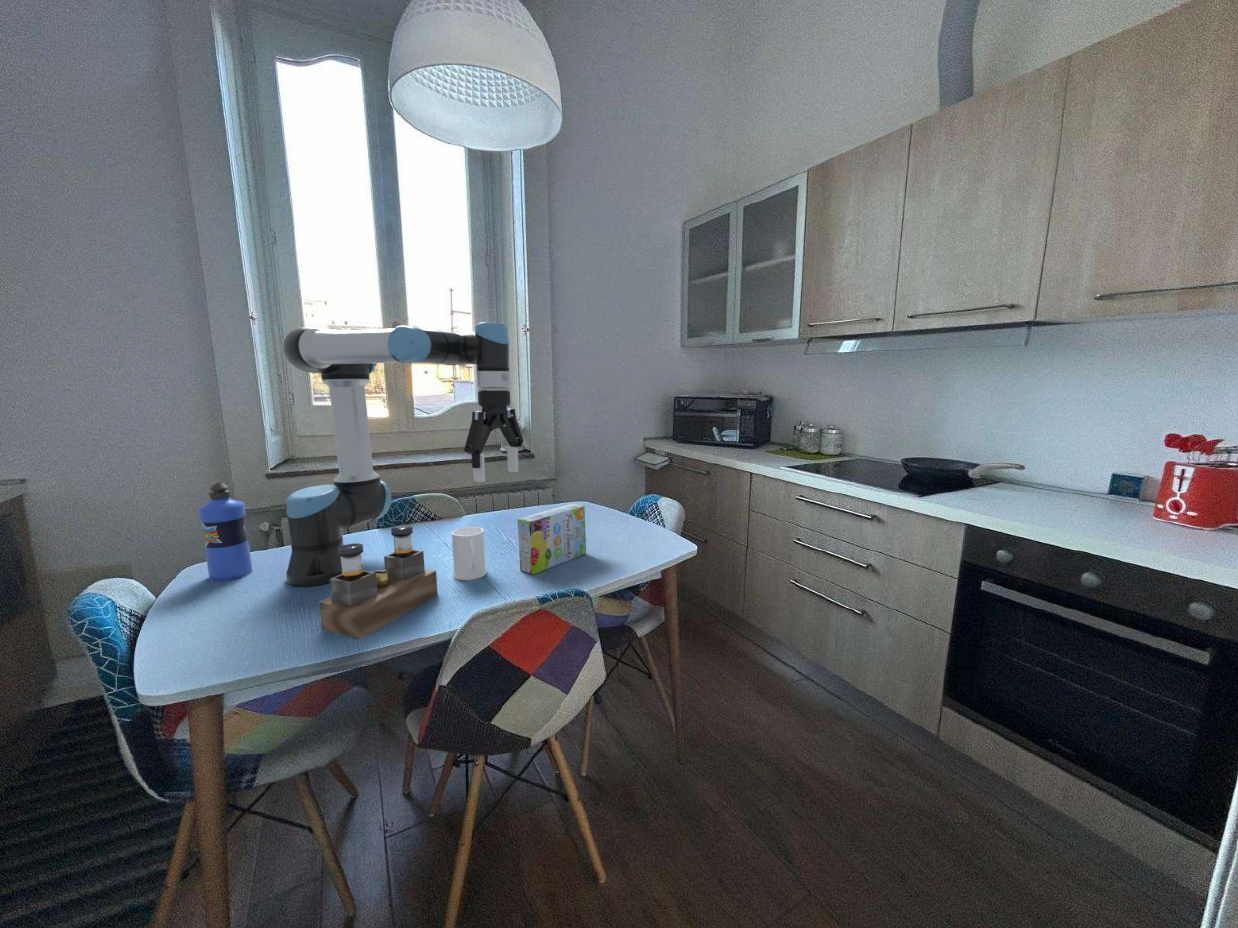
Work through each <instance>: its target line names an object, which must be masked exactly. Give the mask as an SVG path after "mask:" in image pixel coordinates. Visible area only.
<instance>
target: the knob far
mask: <svg viewBox="0 0 1238 928" xmlns="http://www.w3.org/2000/svg"><path fill="white" fill-rule="evenodd" d="M390 531H391V536H393V544H394V552H395V557H399V558H406V557H408V556H411V555H413V550H414V548H413V539H412V534H413V533H414V528H413V526H412V525H398V526H394V527H392V528H391V529H390Z"/></svg>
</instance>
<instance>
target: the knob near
mask: <svg viewBox="0 0 1238 928" xmlns="http://www.w3.org/2000/svg"><path fill="white" fill-rule="evenodd" d="M337 550H338V555H339V556H340V557H341V567H342V577H343V580H346V581H351V582H352V581H354V580H357V579H359V578H361V577H363V570H364V566H363V558H362V557H363V556H362V554H363V552H364V544H362V543H355V542H354V543H348V544H344V545H343V546H340V547H339V548H338V549H337Z"/></svg>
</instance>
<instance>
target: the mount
mask: <svg viewBox="0 0 1238 928" xmlns="http://www.w3.org/2000/svg"><path fill="white" fill-rule="evenodd" d="M424 554H425V553H424V551H423V550H418V549H413V555H411V556H408V557H406V558H399V557H395V551H394V552H391V553H389V554H386V555H383V560H384V562H383V564H384V570H387V571H388V575H389V585H388V586H387V587H383V588H377V580H376V572H375V571H371V570H370V571H369V570H365V569H363V577H361V578H359V579H357V580H354V581H352V582H351V581H346V580H343V577H342V574H340V575H338V576H336V577H333V578H331V579H330V582H329V587H330V596H328V597H326V598H325V599H322V600H320V601H318V609H319V619H320V627H321V630H324V631H327V632H331V633H336V634H341V635H344V636H347V637H348V636H349V637H353V638H357V639H361V640H362V639H364V638H365V637H367V636H369V635H371V634H372V633H374V632H376V631H377V630H379V629H381V628H382V627H384V626H386V625H387V624H389V623H391V622H392V621H395V620H396V619H398V618H400V617H401V616H403V615H405V614H406V613H408V612H410V611H411V610H414V609H415V608H416V607H418V606H420V605H422V604H424V603H426V602H427V601H429V600H430V599H432V598H434V597H436V596H437V595H438V593H439V592H438V579H437V570H433V569H427V568H425V555H424Z"/></svg>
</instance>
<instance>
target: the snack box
mask: <svg viewBox="0 0 1238 928" xmlns="http://www.w3.org/2000/svg"><path fill="white" fill-rule="evenodd" d="M585 507H586V506H585V505H582V504H577V503H570V504H566V505H563V506H559V507H555V508H551V509H547V510H545V511H541V512H538V513H534V514H530V515H527V516H523V517H519V518H517V533H518V534H517V535H518V548H519V549H518V552H519V569H520V571H521V572H524V573H526V574H529V575H532V576H533V575H535V574H538V573H541V572H542V571H545V570H548V569H551V568H553V567H555V566H558V565H560V564H563V563H565V562H566V563H567V562H568V561H570V560H573V559H575V558H578V557H581V556H584V555H585V554H587V541H586V539H587V537H586V511H585V510H586V508H585Z"/></svg>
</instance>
